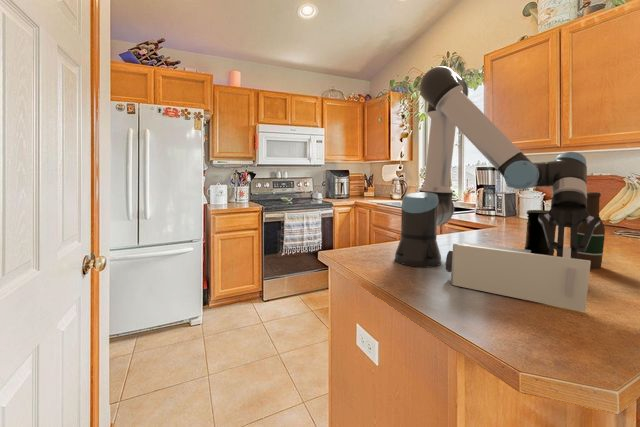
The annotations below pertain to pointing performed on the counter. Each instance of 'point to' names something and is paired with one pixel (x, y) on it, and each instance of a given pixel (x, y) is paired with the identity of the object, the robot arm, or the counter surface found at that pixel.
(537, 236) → the container
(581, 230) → the beer bottle
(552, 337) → the counter surface
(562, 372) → the counter surface
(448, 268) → the camera case
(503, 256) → the side door
